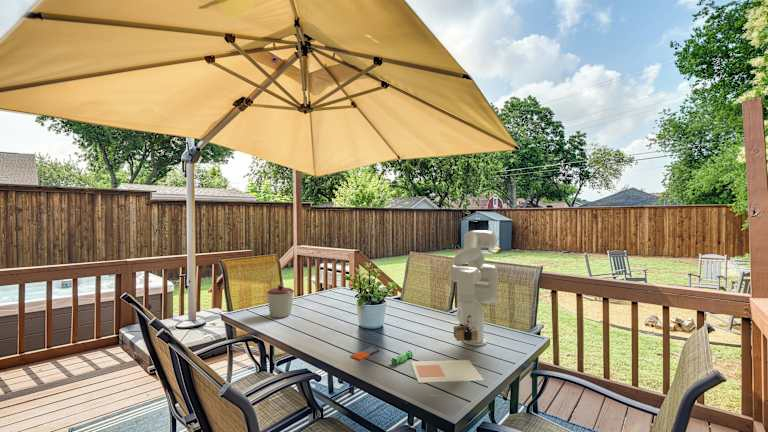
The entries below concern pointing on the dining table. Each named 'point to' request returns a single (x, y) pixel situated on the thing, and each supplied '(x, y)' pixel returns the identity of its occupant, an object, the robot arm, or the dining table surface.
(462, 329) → the walnut card box
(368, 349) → the orange grey slab
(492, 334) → the dining table surface
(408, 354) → the candy
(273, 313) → the canister
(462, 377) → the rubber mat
